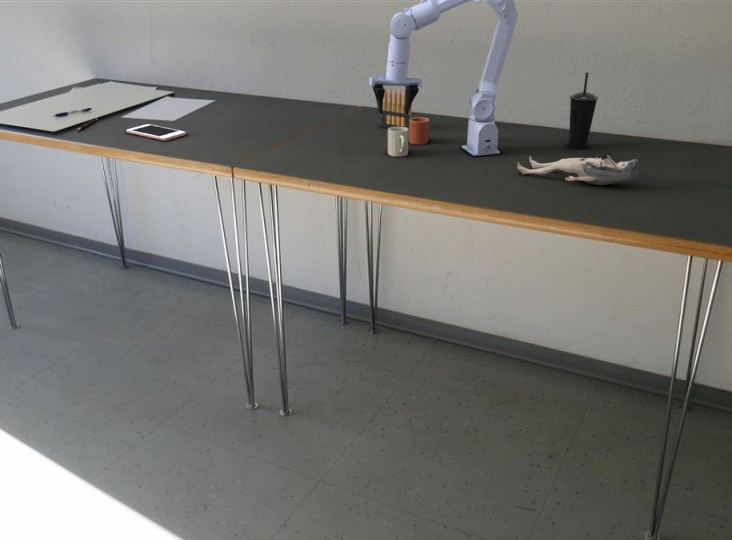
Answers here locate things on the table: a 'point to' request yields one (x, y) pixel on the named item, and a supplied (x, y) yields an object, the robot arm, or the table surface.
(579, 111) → the drinking cup
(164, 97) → the table surface
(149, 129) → the cell phone
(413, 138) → the terracotta cup
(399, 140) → the cream cup
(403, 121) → the ammunition clip
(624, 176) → the anime figure
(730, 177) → the table surface
